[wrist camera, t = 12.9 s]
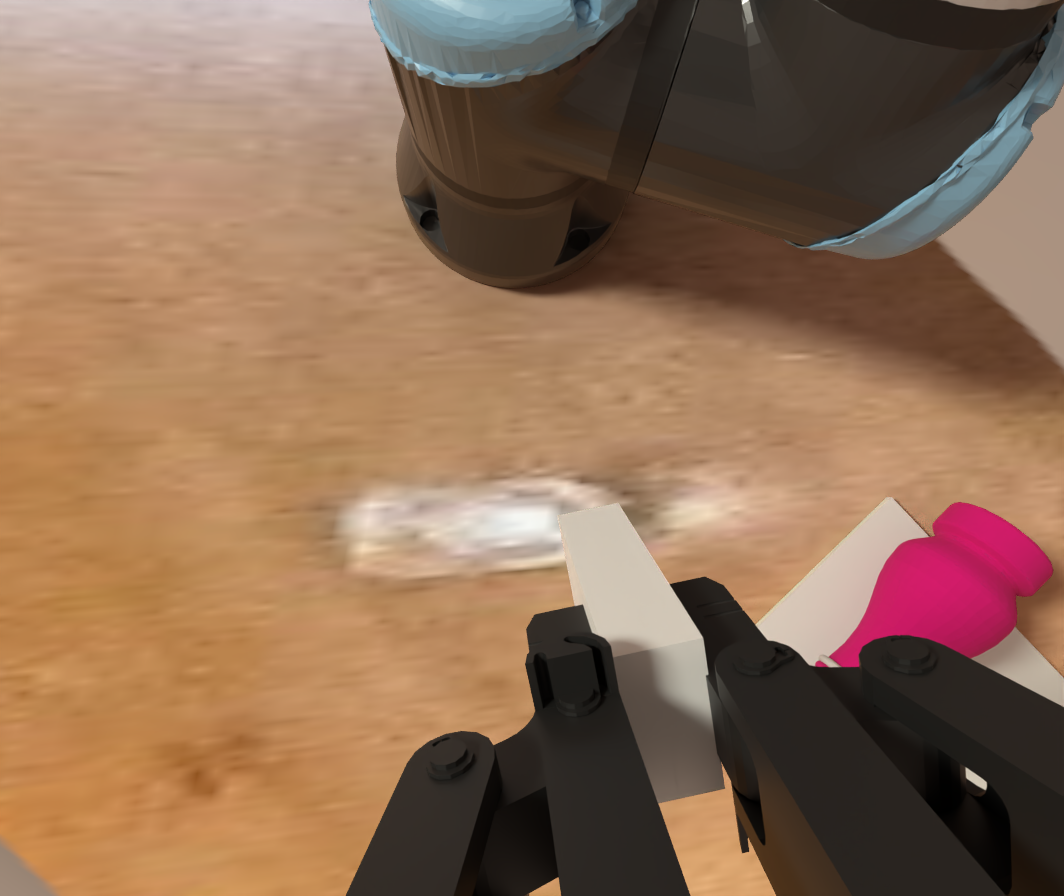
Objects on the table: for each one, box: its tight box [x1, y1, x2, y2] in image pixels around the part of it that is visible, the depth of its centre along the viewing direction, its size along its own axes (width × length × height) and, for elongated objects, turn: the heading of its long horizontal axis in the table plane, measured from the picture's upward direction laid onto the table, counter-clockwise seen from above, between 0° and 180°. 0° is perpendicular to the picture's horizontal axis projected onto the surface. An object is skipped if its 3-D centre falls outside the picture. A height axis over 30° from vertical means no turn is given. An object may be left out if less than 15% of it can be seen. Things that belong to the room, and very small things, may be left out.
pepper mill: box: [811, 502, 1053, 667], centre depth 41 cm, size 7×7×20 cm
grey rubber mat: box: [755, 497, 1064, 790], centre depth 45 cm, size 16×18×1 cm
